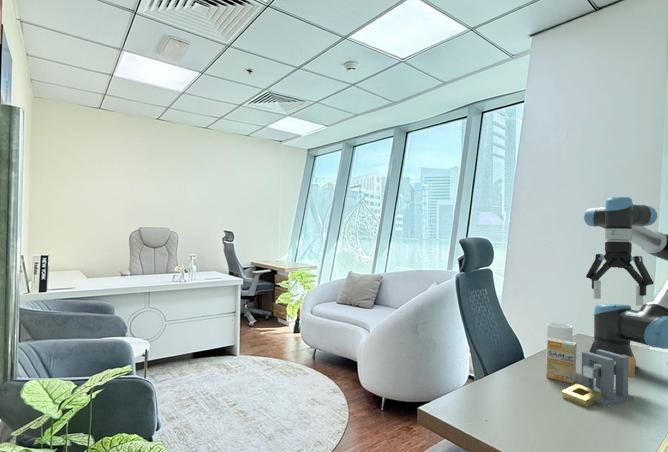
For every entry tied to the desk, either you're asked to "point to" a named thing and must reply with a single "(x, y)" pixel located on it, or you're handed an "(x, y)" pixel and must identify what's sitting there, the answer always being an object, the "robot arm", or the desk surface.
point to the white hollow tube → (558, 333)
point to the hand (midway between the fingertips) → (617, 301)
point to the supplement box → (561, 360)
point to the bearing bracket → (608, 377)
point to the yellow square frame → (575, 390)
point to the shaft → (595, 369)
